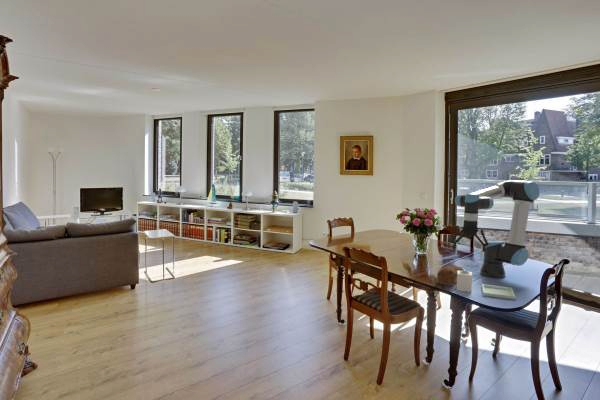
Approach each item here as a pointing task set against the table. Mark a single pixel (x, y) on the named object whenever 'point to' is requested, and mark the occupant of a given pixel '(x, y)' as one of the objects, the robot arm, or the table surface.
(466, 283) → the hollow block
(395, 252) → the table surface
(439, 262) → the table surface
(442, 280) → the bread
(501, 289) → the tray
